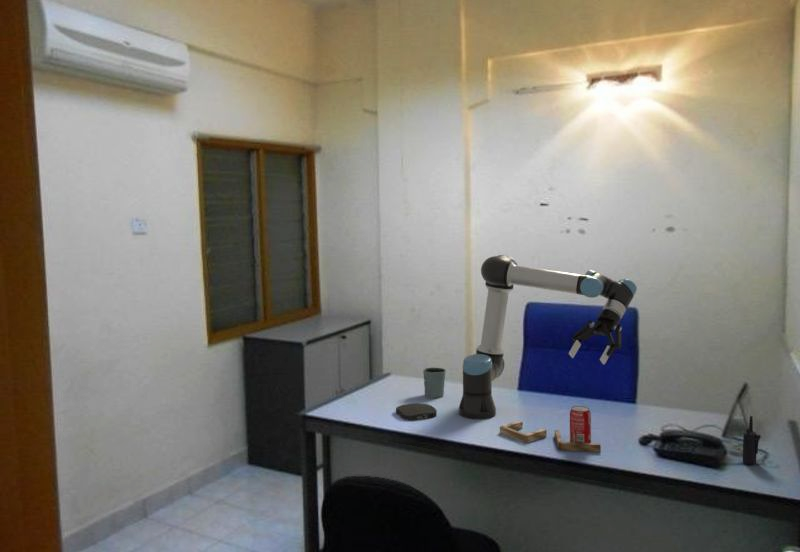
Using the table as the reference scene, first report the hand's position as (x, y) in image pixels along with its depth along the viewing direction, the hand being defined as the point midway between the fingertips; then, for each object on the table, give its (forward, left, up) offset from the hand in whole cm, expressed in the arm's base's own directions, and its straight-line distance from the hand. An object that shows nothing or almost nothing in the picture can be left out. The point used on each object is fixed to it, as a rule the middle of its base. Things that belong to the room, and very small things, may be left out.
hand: (586, 359), depth 220 cm
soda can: (+1, -13, -28) cm, 31 cm away
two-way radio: (+53, -5, -28) cm, 60 cm away
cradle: (-2, -17, -28) cm, 32 cm away
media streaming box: (-66, -8, -28) cm, 72 cm away
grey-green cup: (-71, +20, -28) cm, 79 cm away
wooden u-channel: (-20, -12, -28) cm, 36 cm away
